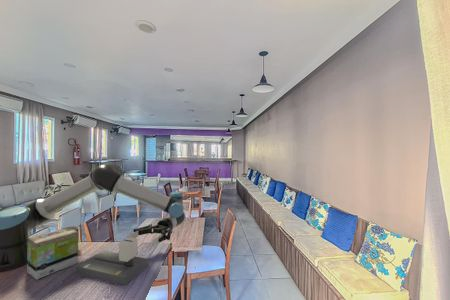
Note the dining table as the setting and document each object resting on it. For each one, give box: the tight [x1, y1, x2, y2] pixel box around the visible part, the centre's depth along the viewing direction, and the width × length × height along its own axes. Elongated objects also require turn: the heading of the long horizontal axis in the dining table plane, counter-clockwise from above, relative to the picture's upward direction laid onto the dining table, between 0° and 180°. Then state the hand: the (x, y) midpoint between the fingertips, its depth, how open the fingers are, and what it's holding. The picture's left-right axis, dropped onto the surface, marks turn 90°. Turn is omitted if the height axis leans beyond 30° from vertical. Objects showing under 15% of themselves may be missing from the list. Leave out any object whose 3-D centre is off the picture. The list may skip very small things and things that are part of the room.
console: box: [75, 249, 149, 286], centre depth 92 cm, size 25×14×3 cm, turn 73°
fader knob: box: [118, 237, 138, 267], centre depth 90 cm, size 4×6×10 cm, turn 163°
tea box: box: [26, 226, 79, 281], centre depth 93 cm, size 15×10×15 cm
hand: (140, 241), depth 96 cm, fingers open, 13 cm apart
